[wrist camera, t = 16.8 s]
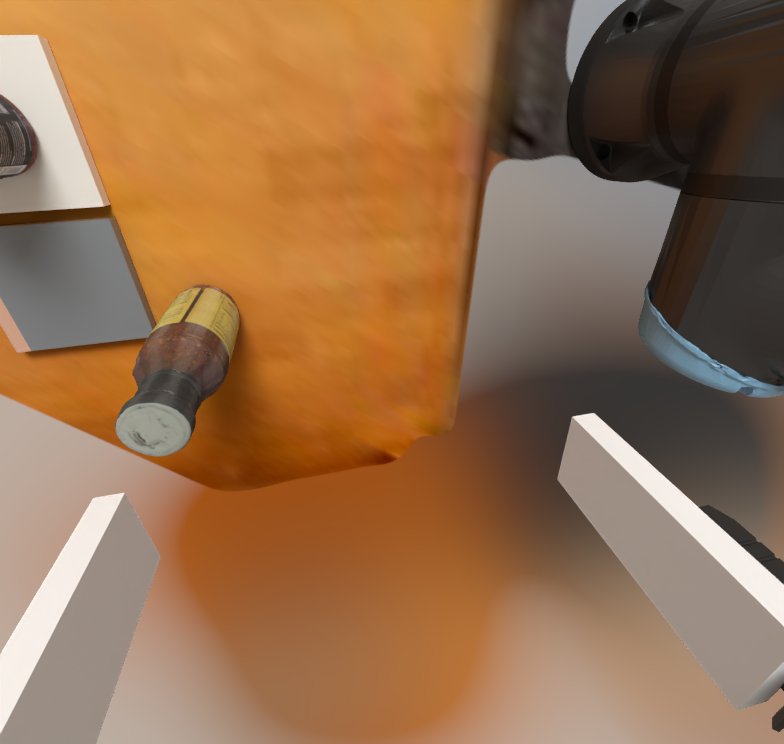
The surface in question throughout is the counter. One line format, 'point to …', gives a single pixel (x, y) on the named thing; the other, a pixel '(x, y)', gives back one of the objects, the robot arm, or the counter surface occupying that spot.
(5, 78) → the cream square tile
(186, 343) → the sauce bottle
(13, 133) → the supplement bottle
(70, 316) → the grey square coaster
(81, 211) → the counter surface
